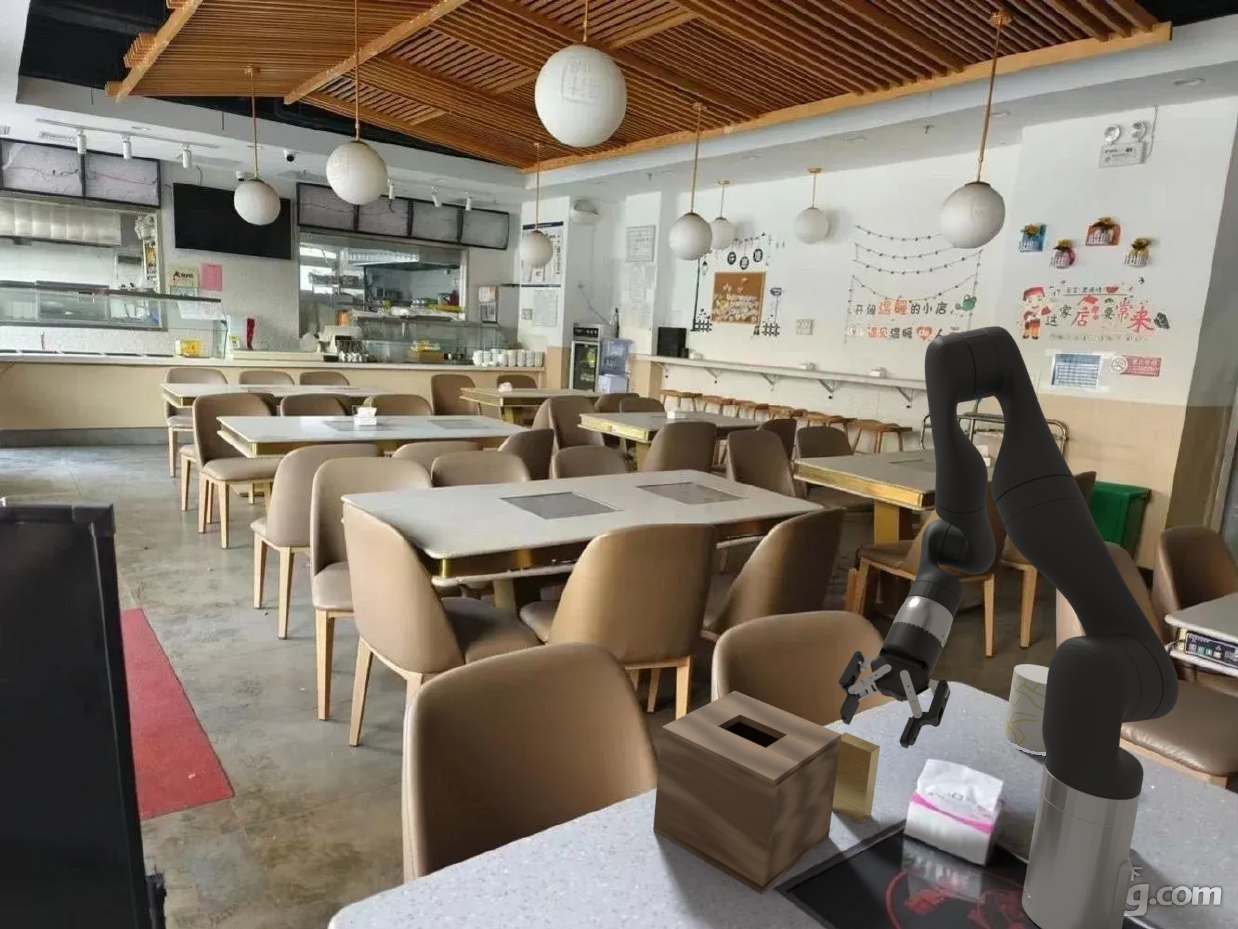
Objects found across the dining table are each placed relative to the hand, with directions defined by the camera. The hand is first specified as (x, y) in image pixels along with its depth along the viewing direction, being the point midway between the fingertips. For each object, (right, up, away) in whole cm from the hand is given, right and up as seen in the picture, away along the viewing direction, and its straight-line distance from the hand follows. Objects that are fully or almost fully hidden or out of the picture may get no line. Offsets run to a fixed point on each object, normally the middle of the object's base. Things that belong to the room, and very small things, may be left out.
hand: (873, 733), depth 112 cm
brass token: (-4, -10, -2) cm, 11 cm away
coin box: (-19, -10, -9) cm, 23 cm away
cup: (+32, -9, +21) cm, 40 cm away
